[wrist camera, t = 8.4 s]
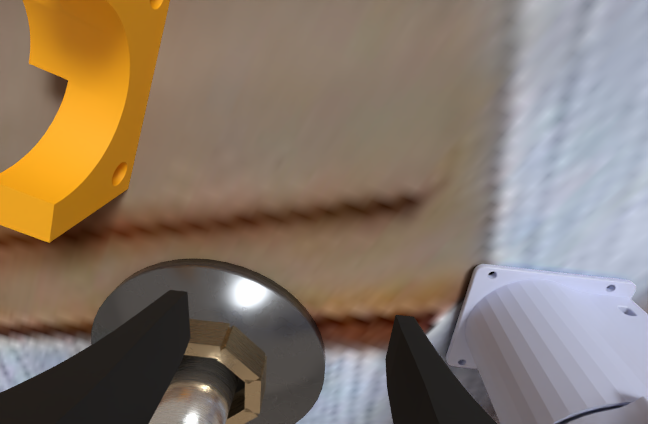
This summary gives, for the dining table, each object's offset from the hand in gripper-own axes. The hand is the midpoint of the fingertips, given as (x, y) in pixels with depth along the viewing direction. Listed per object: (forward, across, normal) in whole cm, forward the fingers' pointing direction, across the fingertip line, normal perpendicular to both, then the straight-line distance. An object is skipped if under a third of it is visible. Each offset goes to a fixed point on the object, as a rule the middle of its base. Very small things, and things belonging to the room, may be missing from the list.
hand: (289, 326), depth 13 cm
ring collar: (+9, +6, +12) cm, 16 cm away
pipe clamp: (+10, +11, -7) cm, 16 cm away
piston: (+8, +6, +12) cm, 16 cm away
